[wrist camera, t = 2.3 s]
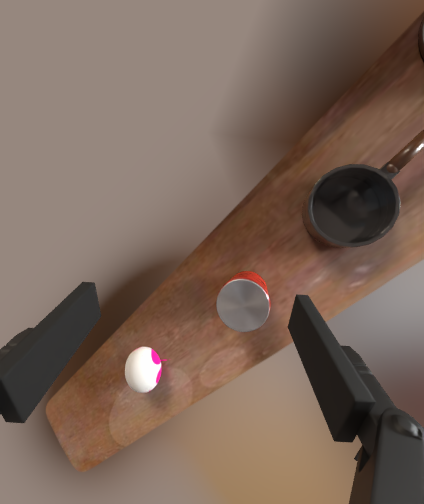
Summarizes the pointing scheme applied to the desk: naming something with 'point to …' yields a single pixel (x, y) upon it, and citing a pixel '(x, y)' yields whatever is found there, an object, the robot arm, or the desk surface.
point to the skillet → (351, 206)
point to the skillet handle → (404, 156)
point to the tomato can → (244, 302)
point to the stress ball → (143, 369)
